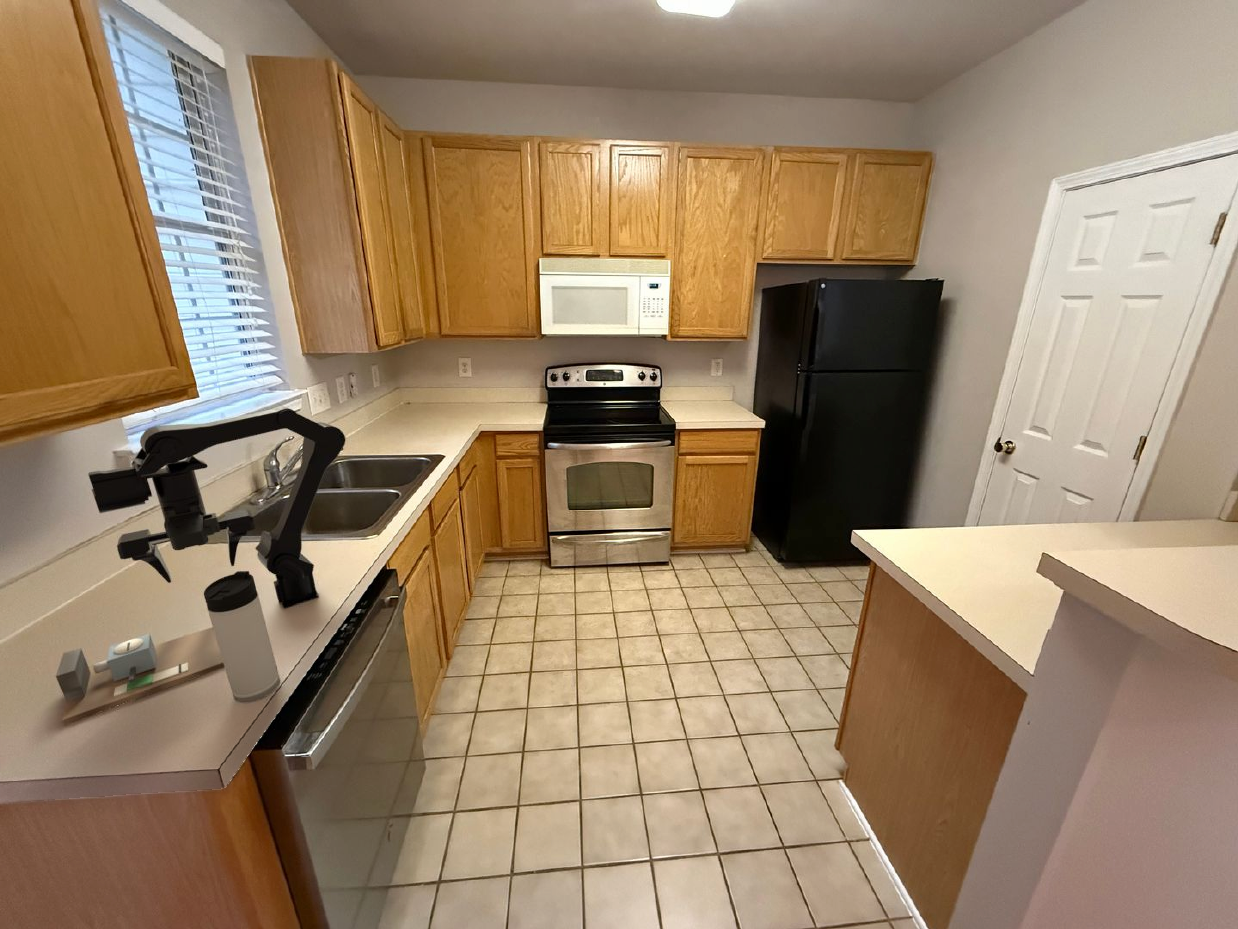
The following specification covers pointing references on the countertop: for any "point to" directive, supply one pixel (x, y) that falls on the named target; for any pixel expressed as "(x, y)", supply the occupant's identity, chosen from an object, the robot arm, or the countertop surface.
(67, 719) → the gauge board
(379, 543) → the countertop surface
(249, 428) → the robot arm
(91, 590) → the countertop surface
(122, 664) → the force gauge
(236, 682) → the travel mug
